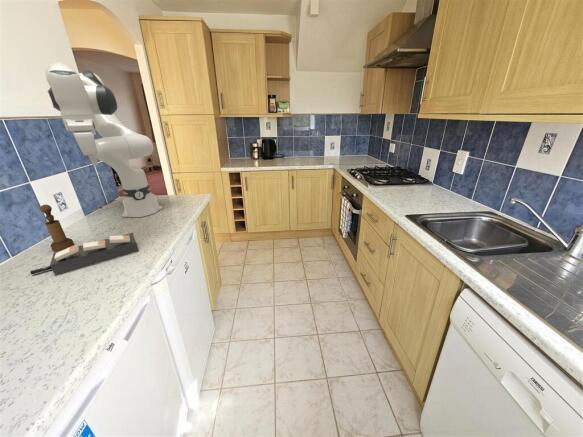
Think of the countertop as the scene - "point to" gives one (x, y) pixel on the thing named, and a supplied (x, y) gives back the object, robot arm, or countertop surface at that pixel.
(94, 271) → the countertop surface
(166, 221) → the countertop surface
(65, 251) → the rocker
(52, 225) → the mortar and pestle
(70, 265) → the power strip
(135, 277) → the countertop surface
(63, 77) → the robot arm
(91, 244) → the rocker middle
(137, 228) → the countertop surface
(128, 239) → the block
